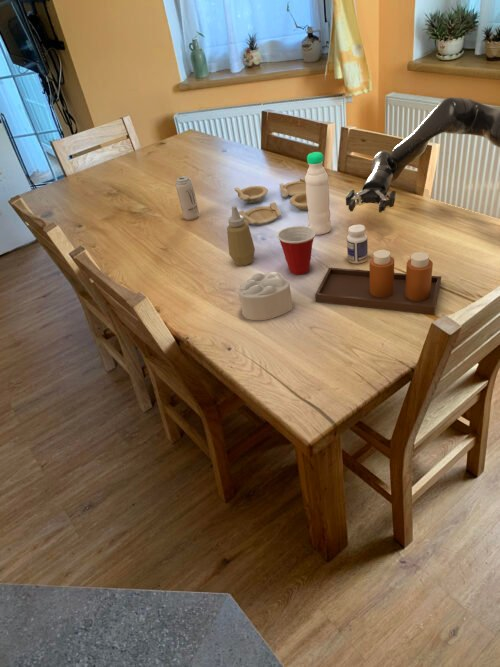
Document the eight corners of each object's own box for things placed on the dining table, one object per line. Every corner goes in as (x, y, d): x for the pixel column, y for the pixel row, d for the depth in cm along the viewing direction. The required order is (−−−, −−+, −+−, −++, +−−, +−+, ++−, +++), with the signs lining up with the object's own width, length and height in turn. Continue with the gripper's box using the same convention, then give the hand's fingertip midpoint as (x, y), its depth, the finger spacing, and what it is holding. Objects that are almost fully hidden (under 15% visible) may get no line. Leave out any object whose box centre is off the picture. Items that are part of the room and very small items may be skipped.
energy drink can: (194, 221, 182) (184, 182, 172) (181, 220, 184) (171, 181, 175) (203, 214, 185) (194, 175, 176) (190, 213, 188) (180, 174, 179)
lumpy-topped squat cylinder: (296, 309, 129) (293, 281, 124) (250, 326, 127) (245, 298, 121) (279, 291, 137) (276, 264, 132) (236, 306, 135) (231, 279, 129)
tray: (440, 283, 129) (441, 276, 127) (433, 314, 119) (434, 307, 118) (329, 274, 140) (329, 267, 139) (315, 301, 131) (315, 294, 129)
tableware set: (243, 231, 170) (241, 220, 167) (226, 200, 193) (224, 190, 190) (339, 206, 173) (339, 195, 171) (311, 179, 196) (311, 169, 194)
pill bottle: (368, 253, 146) (367, 223, 140) (367, 264, 141) (367, 232, 135) (348, 254, 147) (347, 223, 141) (346, 264, 143) (345, 233, 137)
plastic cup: (326, 266, 144) (323, 228, 137) (302, 283, 139) (298, 245, 131) (297, 256, 151) (294, 220, 143) (274, 272, 145) (268, 236, 138)
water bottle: (314, 224, 165) (308, 149, 150) (334, 226, 162) (330, 150, 147) (305, 234, 161) (298, 158, 146) (326, 236, 158) (321, 158, 142)
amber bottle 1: (395, 285, 130) (396, 248, 123) (391, 298, 126) (392, 260, 119) (372, 283, 132) (372, 246, 125) (367, 296, 128) (367, 259, 121)
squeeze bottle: (248, 269, 149) (239, 214, 138) (226, 266, 153) (214, 211, 142) (261, 256, 154) (252, 201, 143) (239, 253, 158) (229, 199, 147)
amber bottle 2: (431, 288, 126) (434, 250, 120) (428, 302, 122) (431, 263, 115) (407, 286, 129) (409, 249, 122) (403, 299, 125) (405, 261, 118)
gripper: (354, 174, 157) (341, 196, 146) (400, 174, 152) (390, 197, 140) (354, 196, 162) (342, 219, 151) (399, 198, 156) (389, 221, 145)
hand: (365, 209), depth 145 cm, fingers open, 8 cm apart
